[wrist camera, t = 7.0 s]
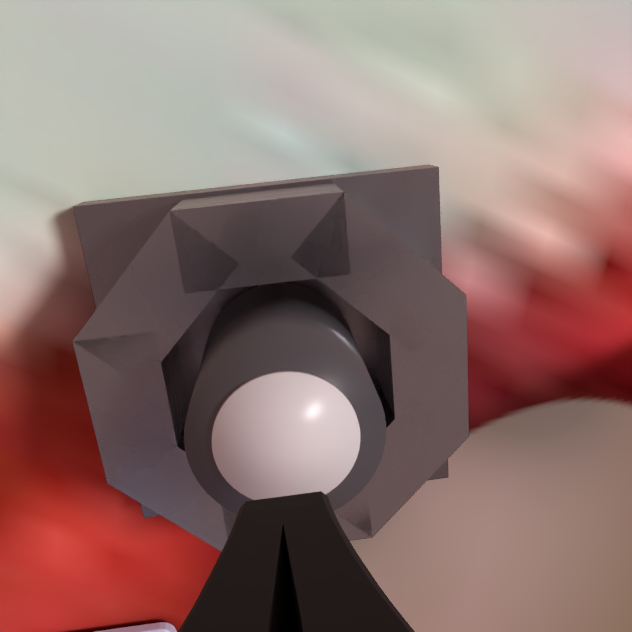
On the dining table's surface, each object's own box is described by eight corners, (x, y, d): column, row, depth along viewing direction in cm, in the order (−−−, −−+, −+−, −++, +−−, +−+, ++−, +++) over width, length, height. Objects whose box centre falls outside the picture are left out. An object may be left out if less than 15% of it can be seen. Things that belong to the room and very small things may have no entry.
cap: (217, 428, 18) (199, 540, 13) (195, 292, 17) (166, 359, 12) (358, 411, 18) (393, 514, 13) (348, 275, 17) (382, 334, 12)
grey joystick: (149, 499, 20) (126, 574, 16) (83, 201, 17) (37, 220, 13) (439, 460, 20) (473, 526, 17) (429, 164, 17) (467, 173, 14)
